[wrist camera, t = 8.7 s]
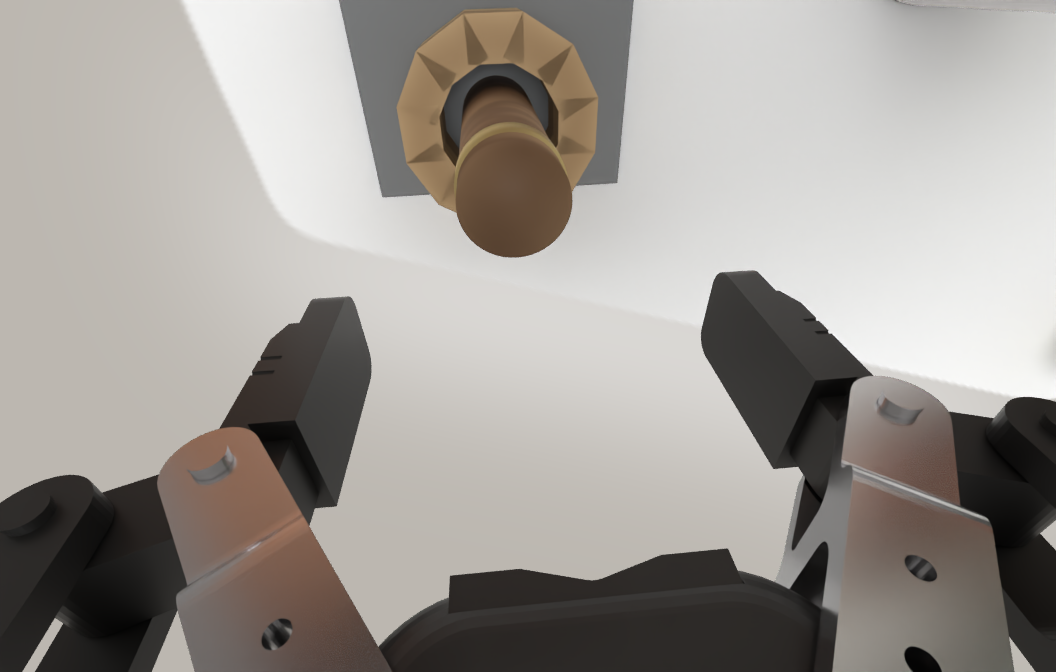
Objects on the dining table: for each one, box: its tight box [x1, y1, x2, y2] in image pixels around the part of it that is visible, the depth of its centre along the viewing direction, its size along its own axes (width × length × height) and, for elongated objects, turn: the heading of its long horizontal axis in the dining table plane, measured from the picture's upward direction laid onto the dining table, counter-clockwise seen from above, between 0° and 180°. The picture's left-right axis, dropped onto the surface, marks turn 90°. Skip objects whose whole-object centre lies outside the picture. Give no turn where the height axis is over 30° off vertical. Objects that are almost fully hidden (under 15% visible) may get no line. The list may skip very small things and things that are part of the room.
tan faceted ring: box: [396, 8, 598, 213], centre depth 26 cm, size 10×10×4 cm
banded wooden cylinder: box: [454, 75, 572, 257], centre depth 22 cm, size 4×4×14 cm
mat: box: [339, 0, 633, 197], centre depth 25 cm, size 15×16×1 cm
